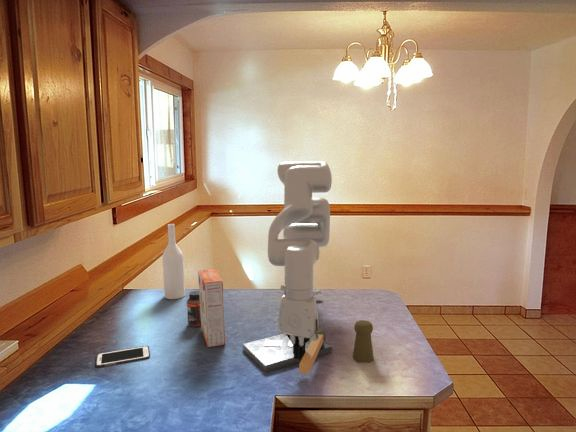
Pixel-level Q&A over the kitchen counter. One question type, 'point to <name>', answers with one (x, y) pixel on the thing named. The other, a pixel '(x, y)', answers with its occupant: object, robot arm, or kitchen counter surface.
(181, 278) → the bottle
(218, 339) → the cracker box
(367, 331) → the cork
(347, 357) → the kitchen counter surface
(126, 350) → the cell phone
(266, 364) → the plate
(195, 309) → the supplement bottle
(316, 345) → the wooden bar
